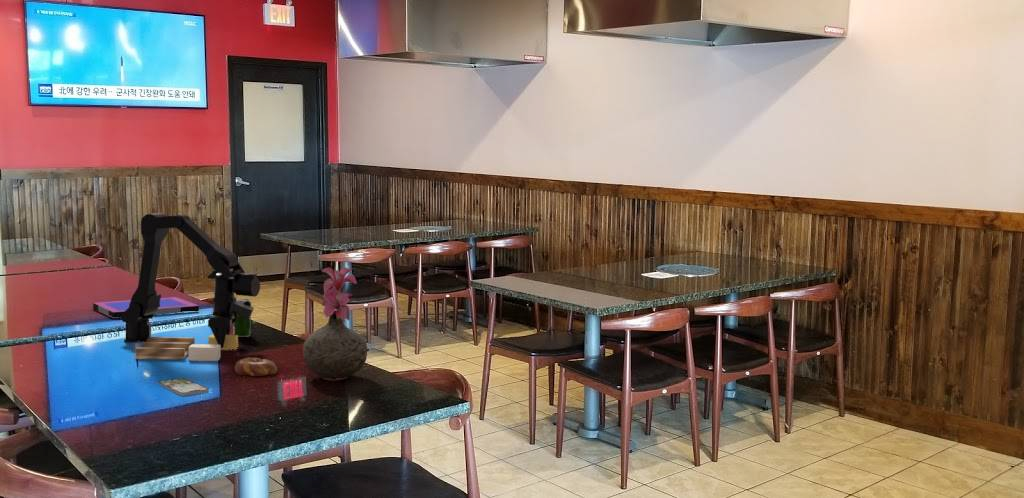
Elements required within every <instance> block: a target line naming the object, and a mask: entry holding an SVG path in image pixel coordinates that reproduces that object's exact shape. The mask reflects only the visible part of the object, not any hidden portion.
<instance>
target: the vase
mask: <svg viewBox="0 0 1024 498" xmlns="http://www.w3.org/2000/svg"><path fill="white" fill-rule="evenodd" d="M351 271H353V267H350V268H348V267H347V266H346V267H345V266H342V267H341V268H340V270H337V269H335V270H333V268H332V267H331V266H330V267H325V268H324V269H322V270H321V272H323V273H325V274H327V275H329V276H330V278H327V279H326V280H325V281H324V283H323V292H324V293H323V296H322V298H323V300H322V304H321V306H323V307H324V308H323V311H322V312H323V314H324V316H325V317H326V318H328V321H327V323H326V324H325V325H324V326H321V327H320V328H318V329H317V330H315V331H313V332H311V334H309V336H308V337H306V339H305V341H304V342H303V345H302V356H303V357H302V358H303V361H304V364H305V366H306V368H307V369H308V370H309V371H311V372H312V373H314V374H315V375H318V376H320V378H321V377H323V378H331V379H336V378H345V377H347V378H349V377H350V376H352V375H355V374H356V373H357V372H359V371H360V370H362V368H363V367H364V365H365V364H366V362H367V357H368V346H367V345H368V344H367V342H366V341H365V339H364V338H363V337H362V336H361V334H359V333H358V332H356V331H355V330H353V329H351V328H349V327H348V326H346V325H345V324H344V323H346V322H345V320H347V321H348V322H350V317H351V316H350V307H349V306H348V303H349V302H350V300H351V299H350V297H352V296H353V294H352V293H350V292H346V291H342V292H341V290H342V288H343V286H344V284H345V283H352V284H356V285H357V283H358V282H357V280H356V277H355V275H354V274H352V273H350V272H351Z"/></svg>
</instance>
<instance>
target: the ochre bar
mask: <svg viewBox="0 0 1024 498" xmlns="http://www.w3.org/2000/svg"><path fill="white" fill-rule="evenodd" d="M208 345H218V343H217V341H216V339H215V336H214V334H210V335H209V336H208ZM237 347H238V348H239V338H238V335H233V334H229V335H226V337H225V342H224V347H223V348H221V351H237V350H236V349H238V348H237ZM229 349H230V350H229ZM232 349H234V350H232Z"/></svg>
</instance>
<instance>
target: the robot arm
mask: <svg viewBox="0 0 1024 498" xmlns="http://www.w3.org/2000/svg"><path fill="white" fill-rule="evenodd" d="M173 228H174V229H177V230H178V231H179V232H181V233H182V235H183V236H185V238H187V239H188V240H189V241H190V242H191V243H192V244H193V245H194V246H195V247H196V248H197V249H199V251H201V253H203V254H204V257H205V258H206V261H207V263H208V264H209V265H210V266H211V268H212V269H213V271H212V272H211V273H209V274H208V275H207V279H211V280H214V287H213V288H214V290H213V291H214V294H213V298H212V302H213V311H212V316H211V317H210V318H209V319H208V320H207V327H209V328H210V330H211V333H212V335H214V336H215V339H216V341H217V343H218V345H221V348H223V347H224V342H225V337H226V335H230V332H231V328H232V326H233V323H234V322H235V321H236V320H237V318H233V316H235V317H238V316H241V317H243V318H244V319H249V318H250V317H251V318H252V314H253V313H254V312H253V311H254V309H255V308H254V306H252V302H251V300H250V301H247V300H246V301H245V302H244V303H239V302H236V299H237V297H236V296H243V297H244V296H245V297H252V298H253V297H257V296H258V295H259V293H260V291H261V283H260V280H259V278H258V274H257V273H246V272H245V270H244V269H243V267H242V266H241V264H240V262H239V261H238V260H239V257H238V256H237V254H235V253H234V252H233V251H232V250H230V249H228V248H226V247H224V246H222V245H220V244H218V243H216V241H214V240H213V239H212V238H211V237H210V236H209V235H208V234H207V233H206V232H205V231H204V230H202V229H201V227H199V226H198V225H197V224H196V223H195V222H194V221H193V220H191V217H190V216H189V215H187V214H184V213H183V214H175V215H166V214H165V213H164V212H163V213H162V212H155V213H154V212H153V213H148V214H145V215H143V216H142V218H141V221H140V234H141V236H142V239H143V248H142V255H141V262H140V270H139V276H138V277H139V278H138V283H137V288H136V289H135V290H134V293H133V294H132V295H131V298H130V300H131V301H130V304H129V308H128V309H127V310H126V311H125V312H124V313H123V314H122V315H121V318H122V319H121V321H122V323H125V338H124V339H123V342H130V343H131V342H139V343H141V342H142V343H143V342H148V337H152V324H151V323H150V320H151V319H152V320H153V317H154V316H153V315H154V313H155V312H156V311H157V309H158V307H160V299H161V298H162V294H161V293H160V294H159V293H157V290H156V283H157V282H156V281H157V276H158V270H159V269H158V268H159V262H160V254H161V250H162V249H161V248H162V243H163V242H164V240H165V238H166V237H167V235H168V233H169V229H173Z"/></svg>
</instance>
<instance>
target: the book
mask: <svg viewBox="0 0 1024 498" xmlns="http://www.w3.org/2000/svg"><path fill="white" fill-rule="evenodd" d="M130 301H131V299H130V300H129V299H128V300H115V301H102V302H101V301H100V302H98V301H97V302H93V303H92V309H95V310H97V311H100V312H102V313H105V314H107V315H110V316H112V317H121V315H122V314H123V313H124V312H125V311H126V310H127V309H128V308H129V304H130ZM95 310H94V311H95ZM97 311H96V312H97ZM182 311H199V312H200V306H199V305H198V304H195V303H193V302H191V301H187V300H185V299H181V298H180V297H177V296H172V297H161V299H160V307H158V309H157V311H156V312H155V313H154V314H157V313H170V312H182Z"/></svg>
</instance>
